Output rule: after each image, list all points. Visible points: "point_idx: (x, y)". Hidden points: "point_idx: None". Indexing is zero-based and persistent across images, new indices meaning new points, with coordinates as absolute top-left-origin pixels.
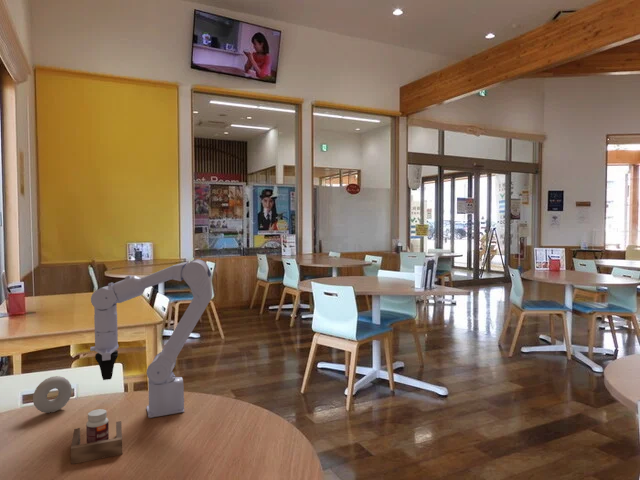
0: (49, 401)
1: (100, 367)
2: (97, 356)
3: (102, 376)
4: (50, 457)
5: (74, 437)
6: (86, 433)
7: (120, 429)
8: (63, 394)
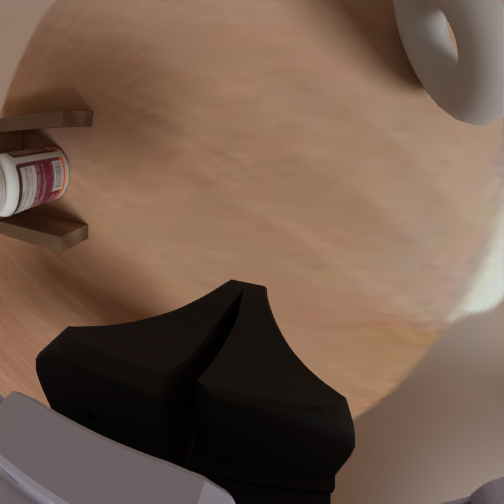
0: (421, 25)
1: (164, 317)
2: (58, 377)
3: (218, 288)
4: (58, 65)
5: (23, 119)
6: (20, 150)
7: (23, 238)
8: (445, 78)
